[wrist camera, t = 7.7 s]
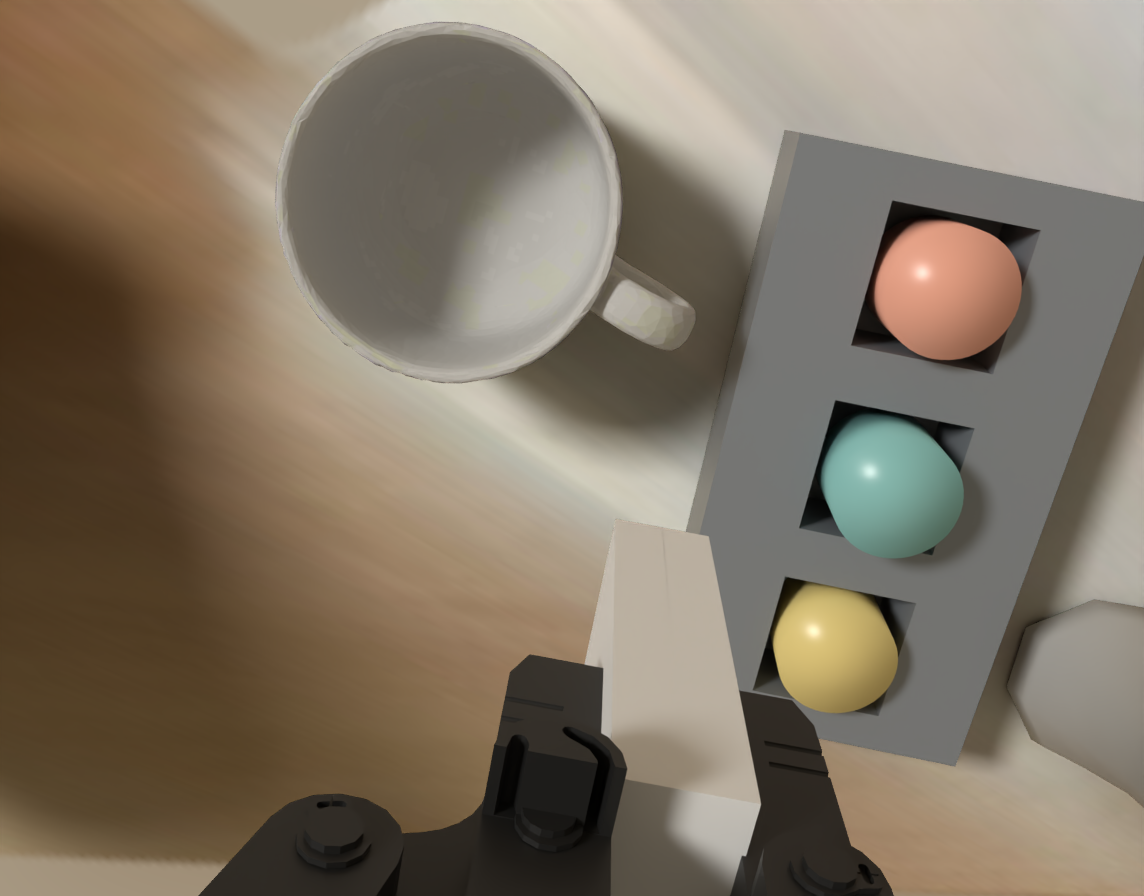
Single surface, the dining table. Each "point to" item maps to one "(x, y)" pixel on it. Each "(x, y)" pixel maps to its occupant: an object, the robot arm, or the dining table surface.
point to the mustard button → (832, 646)
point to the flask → (1087, 689)
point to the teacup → (460, 208)
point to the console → (916, 388)
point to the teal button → (888, 483)
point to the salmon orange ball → (943, 287)
